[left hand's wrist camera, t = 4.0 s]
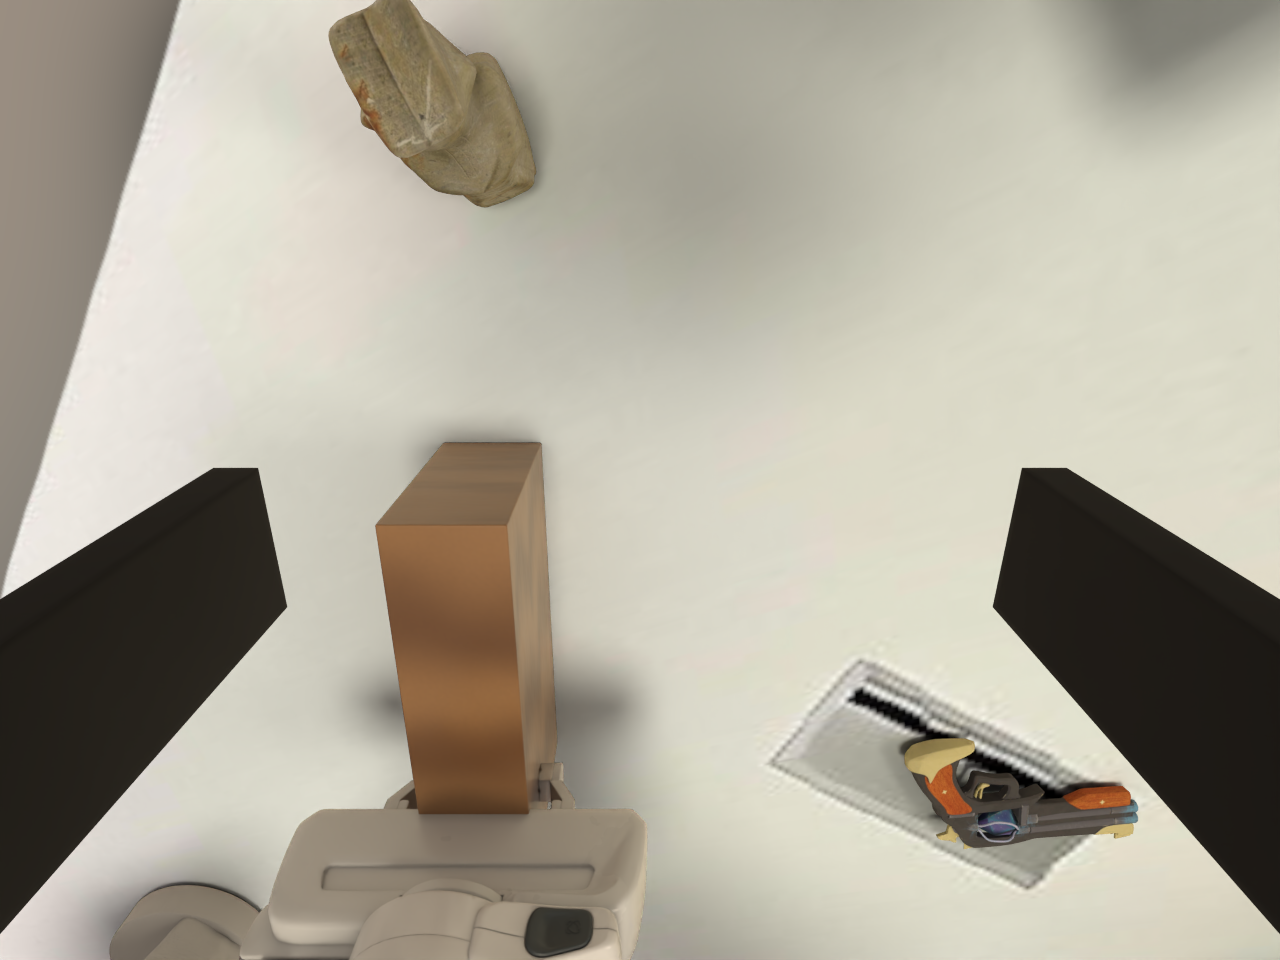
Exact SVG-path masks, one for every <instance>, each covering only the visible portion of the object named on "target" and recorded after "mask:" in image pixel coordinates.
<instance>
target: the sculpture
mask: <svg viewBox="0 0 1280 960" xmlns="http://www.w3.org/2000/svg"><path fill="white" fill-rule="evenodd" d="M329 41H330V45H331V48H332V51H333V53H334V56H335V58H336V61H337V63H338V65H339V67H340V69H341V71H342V73H343V75H344V77H345V79H346V82H347V83H348V85H349V87H350V89H351V90H352V92H353V94H354V96H355V97H356V99H357V101H358V103H359V105H360V107H361V122H362V124H363V125H364V126H365V127H367V128H369V129H371V130H374V131H375V132H376V133H377V134H378V136H379V137H380V138H381V140H382V141H383V143H384V144H385V145H386V147H387V148H388V149H389V150H390V151H391V152H392V153H393V154H394V155H395V156H397V157H399V158H401V160H402V161H403V162H404V163H405V164H406V165H407V166H408V167H409V168H410V169H411V170H413V171H414V172H415V173H416V174H417V175H418V176H419V177H420V178H421V179H422V180H423V181H424V182H425V183H426V184H427V185H429V186H430V187H431V188H432V189H434V190H436V191H438V192H442V193H447V194H453V195H464V196H465V197H466V198H467V199H468V200H469V201H471V202H472V203H474V204H475V205H477V206H480V207H489V206H492V205H495V204H498V203H501V202H504V201H506V200H508V199H511V198H513V197H515V196H517V195H519V194H521V193H523V192H525V191H527V190H528V189H530V188H531V187H532V186H533V184H534V175H535V174H536V167H535V164H534V161H533V157H532V151H531V147H530V143H529V139H528V136H527V132H526V129H525V126H524V123H523V120H522V118H521V115H520V112H519V109H518V107H517V104H516V102H515V99H514V97H513V94H512V92H511V90H510V88H509V85H508V83H507V81H506V79H505V77H504V74H503V72H502V70H501V68H500V66H499V64H498V62H497V61H496V59H495V58H494V57H493V56H491V55H490V54H488V53H474V54H470V55H468V56H465V55H464V54H463V53H462V52H461V51H460V50H459V49H457V48H456V47H455V46H454V45H453V44H452V43H451V42H449V41H448V40H447V39H446V38H445V37H444V36H443V35H442V34H441V33H440V32H439V31H438V30H437V29H435V28H434V27H433V26H432V25H431V24H429V23H428V22H427V21H425V20H424V19H423V18H422V16H421V15H420V13H419V11H418V10H417V8H416V7H415V6H414V5H413V3H412V2H411V1H410V0H376V1H375V2H374V3H373V4H372V5H371V6H369V7H367V8H366V9H363V10H361V11H358V12H356V13H353V14H351V15H349V16H346V17H344V18H342V19H340V20H338V21H337V22H336V23H335V24H334V25H333V26H332V27H331V28H330V31H329Z"/></svg>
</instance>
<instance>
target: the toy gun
mask: <svg viewBox="0 0 1280 960" xmlns="http://www.w3.org/2000/svg"><path fill="white" fill-rule="evenodd" d="M974 748H975V744H974V742H973V741H971V740H968V739H962V738H950V739H933V740H927V741H923V742H919V743H916V744H913V745H912V746H911V747H910V748H909V749H908V750H907V752H906V753H905V765H906V767H907V768H908V769H909V770H910V771H912V774H913V776H914V778H915V780H916V782H917V784H918V785H919V787H920V788H921V790H922V791H923V792H924V794H925V795H926V796H927V797H928V799H929V800H930V801H931V802H932V807H933V809H934V811H935V812H936V814H937V815H939V816H940V817H941V818H942V820H943V821H944V822H945V823H947V824H948V826H947V829H946V831H945V832H942V833H939V834H936V836H937V837H938V839H940V840H950V841H952V842H956V838H957V837H960V839H961V840H962V841H963V843H964V849H967V848H971V847H973V848H981V847H992V846H1002V845H1009V844H1014V843H1019V842H1023V841H1026V840H1030V839H1033V838H1043V837H1057V836H1070V835H1086V834H1094V835H1097V834H1112V833H1114V838H1115V839H1116V838H1120V837H1125V836H1129V835H1130V834H1133V829H1134V827H1133V824H1132V823H1136V822H1137V821H1138V816H1137V814H1136V812H1137V811H1138V806H1137V803H1136V802H1135V801H1134V800H1132V799H1131V795H1130V792H1129V791H1127V790H1126V789H1125V788H1124V787H1123V786H1111V787H1096V788H1083V789H1079V790H1076V791H1074V792H1072V793H1069V794H1067V795H1064V796H1063V797H1062V798H1056V799H1040V798H1041V797H1042V796H1043V795H1044V793H1045V792H1044V791H1043V790H1042V789H1041V788H1040V787H1039V786H1038V785H1037V784H1033V785H1031V786H1028V787H1026V788H1022V789H1019V784H1018V782H1017V780H1016V779H1015V778H1014V777H1013V776H1012V775H1011V774H1010V773H1000V774H993V773H985V772H980V771H972V772H971V773H970V777H969V780H968V782H967V784H966V785H965V786H964V787H962V788H960V787H959V785H958V782H957V780H956V770H957V766H958V763H959V761H960V759H962V758H964V757H966V756H967V755H969V754H971V753H972V752H973V751H974ZM978 783H980V784H979V785H978ZM989 784H994V785H1004V786H1003V788H1002V789H1001V790H1000V791H999V792H993V793H982V792H983V789H984V788H985V787H988V786H990V785H989ZM977 785H978V787H977V788H976V786H977ZM975 788H976V790H975ZM974 790H975V792H974ZM978 791H979V793H978ZM977 793H978V794H977ZM978 813H982V814H981V815H980V816H979V817H978ZM979 828H981V829H983V830H985V831H986V832H981V830H980V829H979ZM977 831H979V832H977Z"/></svg>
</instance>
